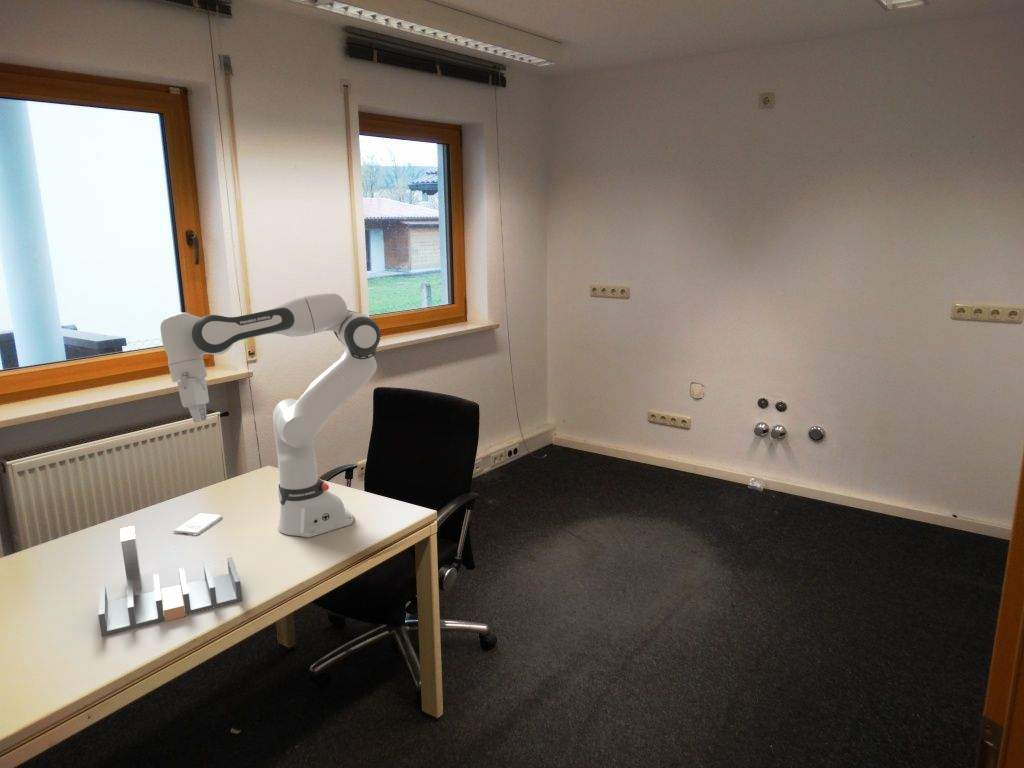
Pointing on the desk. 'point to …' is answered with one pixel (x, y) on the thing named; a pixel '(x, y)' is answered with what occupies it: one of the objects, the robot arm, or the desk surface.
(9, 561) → the desk surface
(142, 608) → the rack
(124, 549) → the panel
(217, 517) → the external hard drive
